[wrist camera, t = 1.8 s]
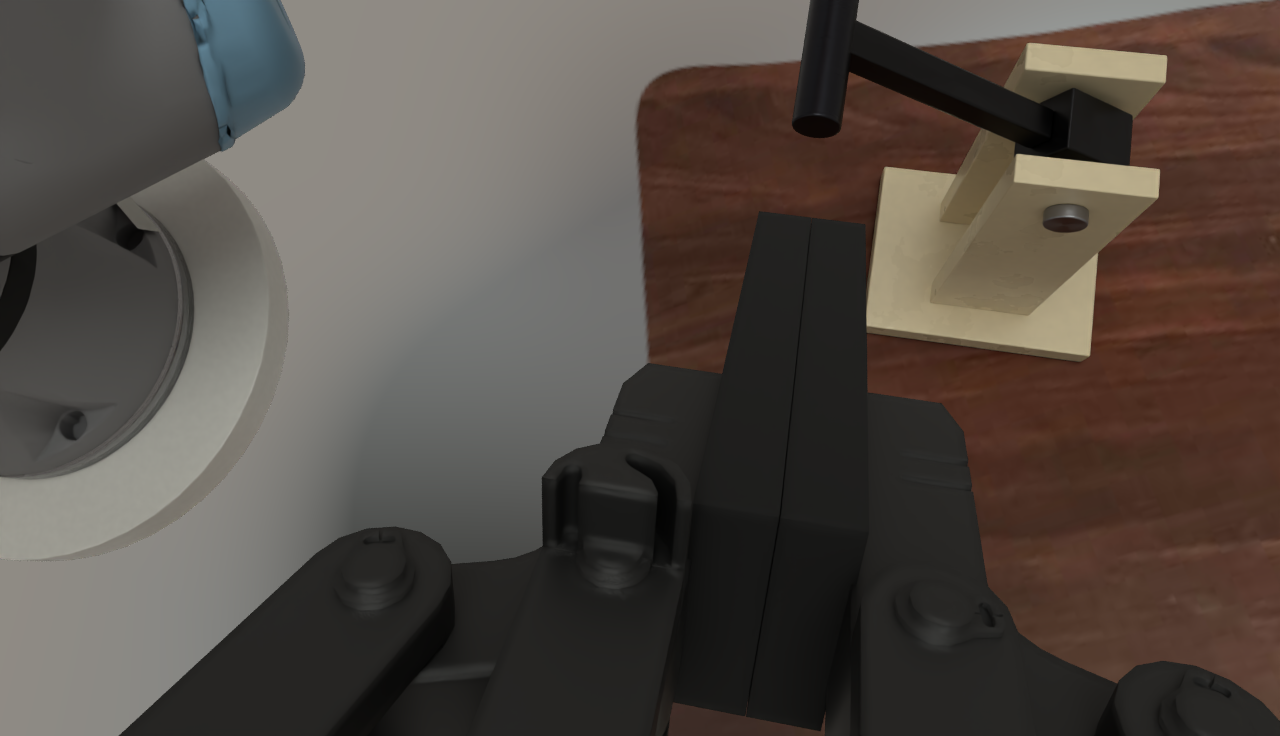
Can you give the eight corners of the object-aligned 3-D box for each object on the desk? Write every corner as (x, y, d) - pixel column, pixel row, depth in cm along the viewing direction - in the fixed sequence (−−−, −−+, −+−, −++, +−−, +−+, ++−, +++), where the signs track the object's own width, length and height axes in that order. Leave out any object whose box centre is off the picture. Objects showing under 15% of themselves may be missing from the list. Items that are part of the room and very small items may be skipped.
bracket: (860, 332, 44) (918, 214, 30) (880, 176, 46) (945, -7, 31) (1080, 362, 43) (1252, 254, 29) (1093, 200, 44) (1262, 21, 30)
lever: (774, 133, 28) (819, 103, 26) (800, -41, 30) (846, -83, 27) (1066, 245, 33) (1126, 228, 31) (1079, 90, 34) (1138, 63, 32)
